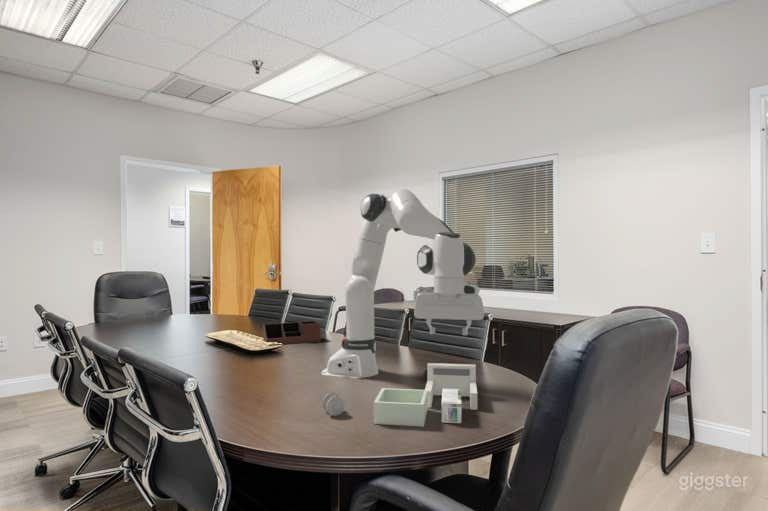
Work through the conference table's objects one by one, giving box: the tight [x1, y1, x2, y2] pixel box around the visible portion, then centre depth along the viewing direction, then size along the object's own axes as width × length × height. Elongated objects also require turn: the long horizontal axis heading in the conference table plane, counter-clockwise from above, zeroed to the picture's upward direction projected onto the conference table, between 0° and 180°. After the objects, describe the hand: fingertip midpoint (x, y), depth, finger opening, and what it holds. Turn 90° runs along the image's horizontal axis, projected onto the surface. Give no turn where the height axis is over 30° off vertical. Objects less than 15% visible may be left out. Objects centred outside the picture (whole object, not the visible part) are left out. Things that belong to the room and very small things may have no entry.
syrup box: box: [440, 389, 463, 424], centre depth 136 cm, size 6×6×14 cm
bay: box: [424, 362, 478, 411], centre depth 150 cm, size 16×16×10 cm
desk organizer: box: [262, 320, 321, 345], centre depth 246 cm, size 10×29×11 cm, turn 114°
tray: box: [373, 387, 428, 427], centre depth 135 cm, size 14×14×6 cm
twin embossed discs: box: [322, 391, 346, 416], centre depth 138 cm, size 6×4×6 cm
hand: (448, 334), depth 136 cm, fingers open, 8 cm apart
